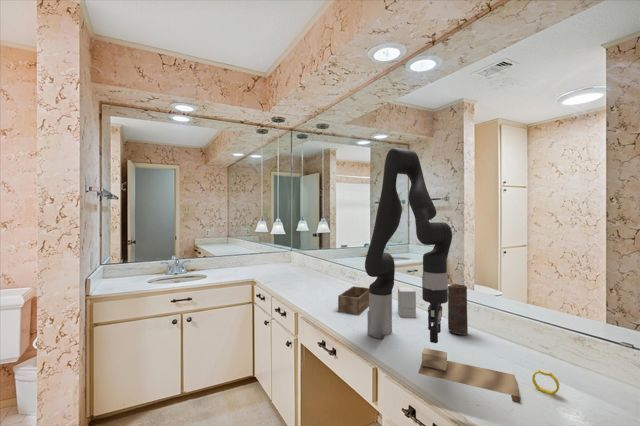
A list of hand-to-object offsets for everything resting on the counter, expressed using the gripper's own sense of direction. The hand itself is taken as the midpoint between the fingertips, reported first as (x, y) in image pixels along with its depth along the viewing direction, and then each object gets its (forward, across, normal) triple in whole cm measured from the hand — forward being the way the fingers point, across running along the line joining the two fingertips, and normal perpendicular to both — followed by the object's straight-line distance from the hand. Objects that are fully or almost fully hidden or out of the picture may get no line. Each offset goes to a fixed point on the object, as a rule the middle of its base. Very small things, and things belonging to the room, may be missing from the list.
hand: (435, 337), depth 95 cm
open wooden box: (+10, -48, -44) cm, 66 cm away
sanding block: (+9, 0, 0) cm, 9 cm away
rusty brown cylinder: (+11, -36, +5) cm, 38 cm away
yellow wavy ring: (+12, -3, +29) cm, 31 cm away
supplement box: (+11, -48, -18) cm, 53 cm away
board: (+11, 0, +8) cm, 14 cm away
